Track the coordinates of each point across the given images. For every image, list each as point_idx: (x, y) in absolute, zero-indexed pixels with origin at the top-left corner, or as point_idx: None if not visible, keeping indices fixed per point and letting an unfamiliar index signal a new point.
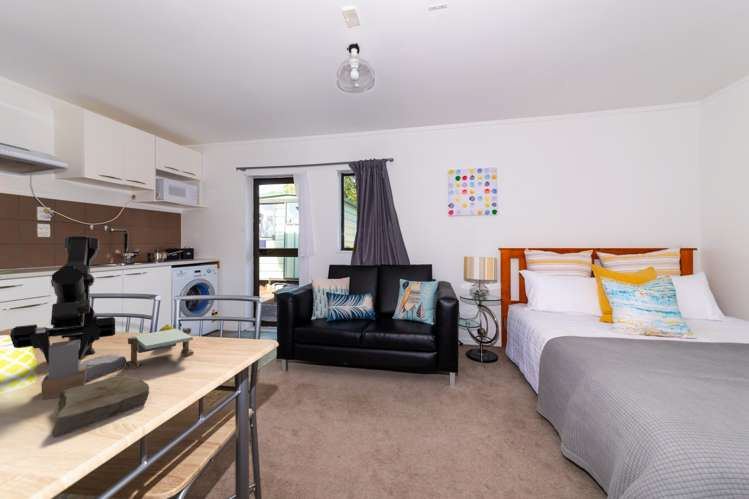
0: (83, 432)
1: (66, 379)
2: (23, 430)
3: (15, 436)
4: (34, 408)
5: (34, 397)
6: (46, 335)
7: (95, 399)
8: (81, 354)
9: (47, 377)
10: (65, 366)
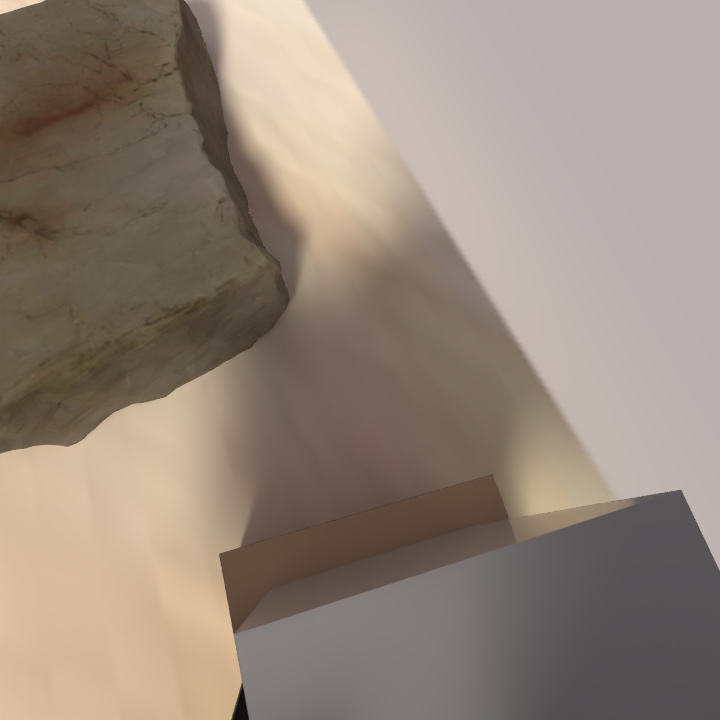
0: None
1: (339, 521)
2: (340, 142)
3: (344, 107)
4: (421, 370)
5: None
6: None
7: (44, 99)
8: (238, 707)
9: None
10: (379, 560)
